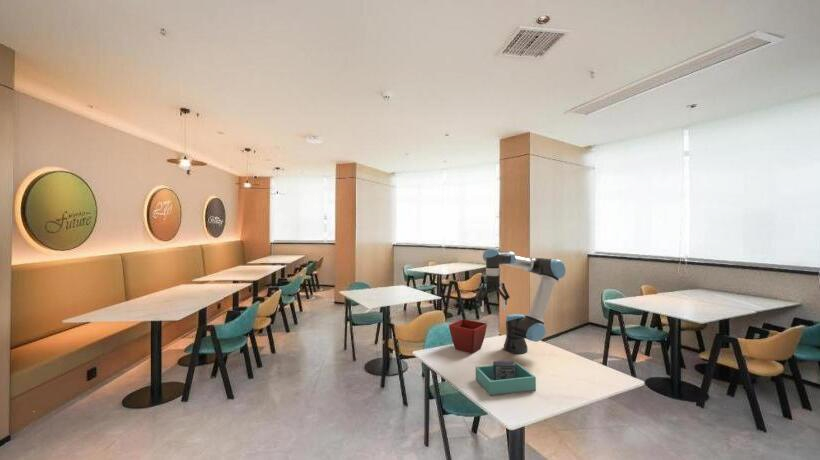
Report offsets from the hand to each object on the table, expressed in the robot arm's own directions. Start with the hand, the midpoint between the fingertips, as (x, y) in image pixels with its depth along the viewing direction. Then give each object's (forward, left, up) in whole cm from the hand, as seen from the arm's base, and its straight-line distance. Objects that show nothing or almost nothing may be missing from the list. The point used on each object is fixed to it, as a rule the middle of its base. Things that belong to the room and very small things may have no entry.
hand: (493, 311), depth 195 cm
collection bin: (+6, +25, -32) cm, 41 cm away
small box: (+6, +25, -31) cm, 40 cm away
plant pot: (+5, -28, -32) cm, 43 cm away
